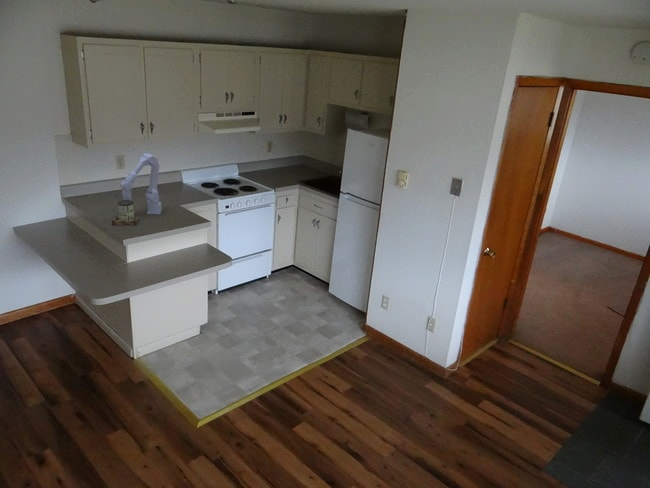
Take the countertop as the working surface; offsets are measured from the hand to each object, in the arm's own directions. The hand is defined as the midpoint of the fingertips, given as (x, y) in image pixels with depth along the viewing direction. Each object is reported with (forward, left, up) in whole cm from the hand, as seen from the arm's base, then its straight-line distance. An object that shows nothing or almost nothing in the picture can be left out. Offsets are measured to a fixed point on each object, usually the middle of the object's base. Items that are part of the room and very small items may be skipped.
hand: (128, 215), depth 357 cm
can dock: (0, +10, -1) cm, 10 cm away
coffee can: (0, +7, -2) cm, 8 cm away
